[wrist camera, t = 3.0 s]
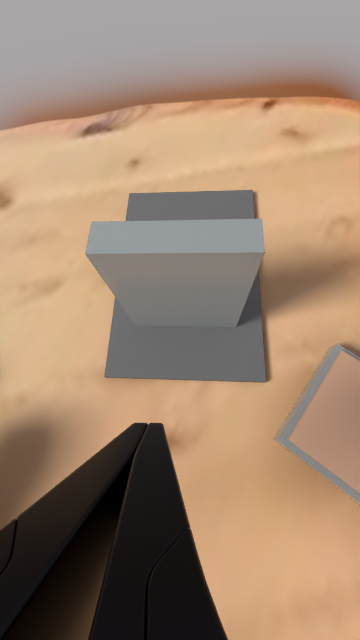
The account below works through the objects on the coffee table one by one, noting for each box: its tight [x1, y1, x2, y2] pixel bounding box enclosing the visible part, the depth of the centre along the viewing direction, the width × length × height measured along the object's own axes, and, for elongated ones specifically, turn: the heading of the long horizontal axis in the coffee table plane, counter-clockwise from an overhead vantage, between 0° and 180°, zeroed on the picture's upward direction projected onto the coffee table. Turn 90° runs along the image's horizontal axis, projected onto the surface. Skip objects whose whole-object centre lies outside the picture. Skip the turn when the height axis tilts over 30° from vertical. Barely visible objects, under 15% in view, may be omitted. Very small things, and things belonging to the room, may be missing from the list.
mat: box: [104, 190, 266, 382], centre depth 23 cm, size 18×12×1 cm, turn 178°
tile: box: [85, 219, 265, 327], centre depth 17 cm, size 2×8×10 cm, turn 88°
